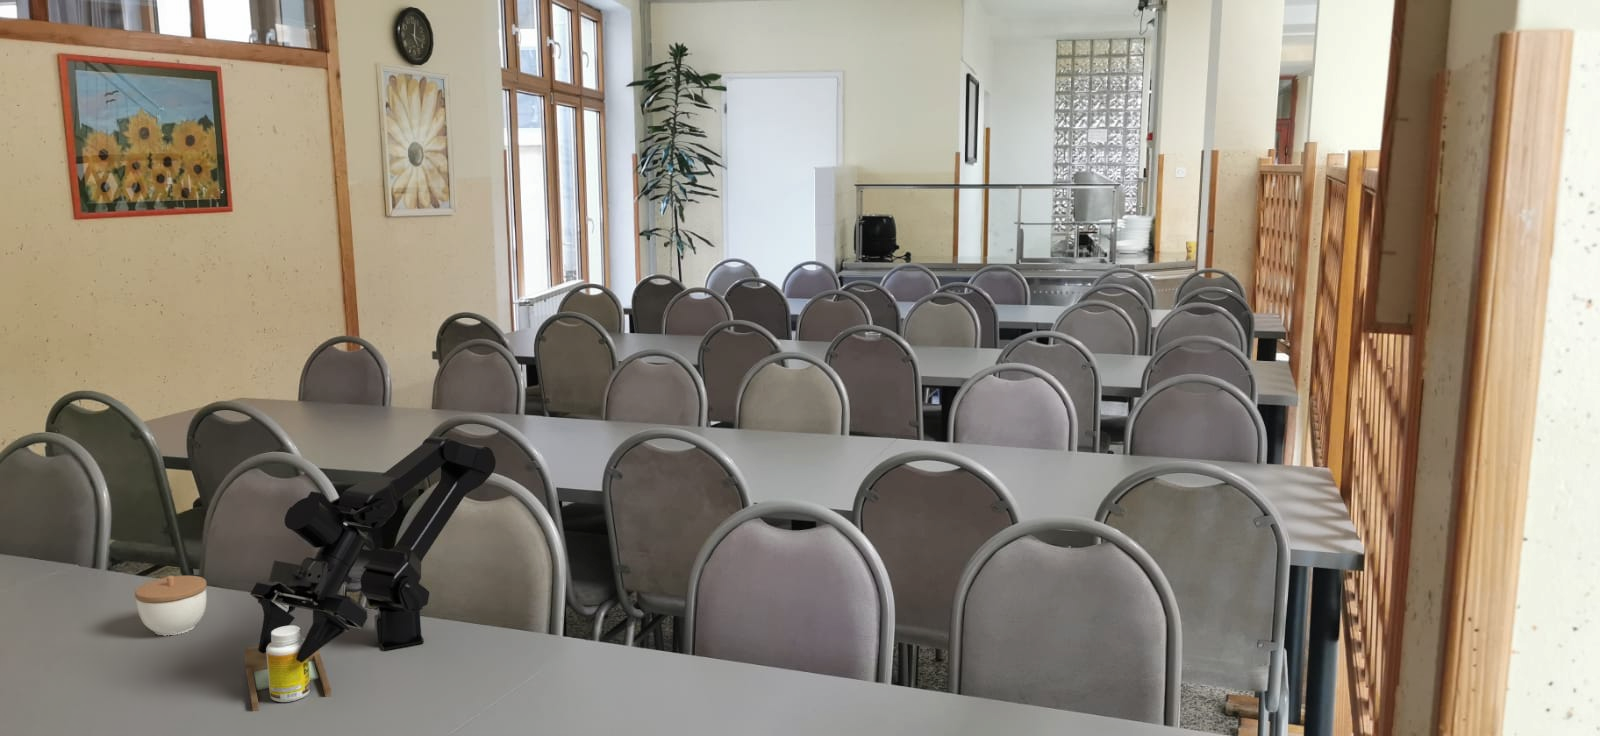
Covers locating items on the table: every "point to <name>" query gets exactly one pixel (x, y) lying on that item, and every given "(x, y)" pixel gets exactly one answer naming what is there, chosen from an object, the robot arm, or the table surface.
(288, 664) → the supplement bottle
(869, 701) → the table surface
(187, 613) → the lidded jar
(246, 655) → the bay
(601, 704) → the table surface
